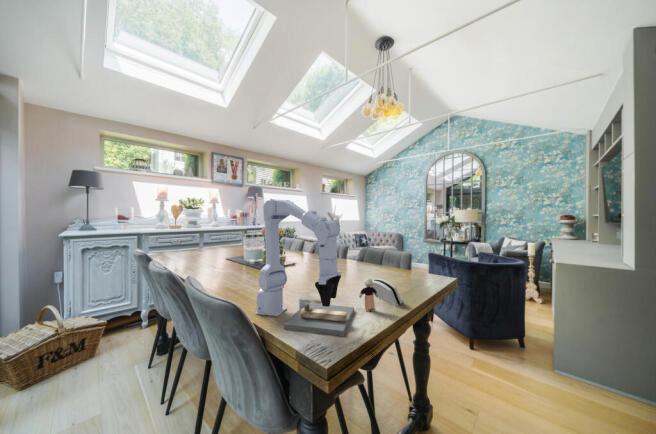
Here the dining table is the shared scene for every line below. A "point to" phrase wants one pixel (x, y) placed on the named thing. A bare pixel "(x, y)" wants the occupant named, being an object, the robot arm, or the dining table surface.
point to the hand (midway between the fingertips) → (329, 301)
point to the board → (320, 321)
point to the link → (323, 314)
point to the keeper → (307, 300)
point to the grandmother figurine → (369, 295)
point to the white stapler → (387, 292)
